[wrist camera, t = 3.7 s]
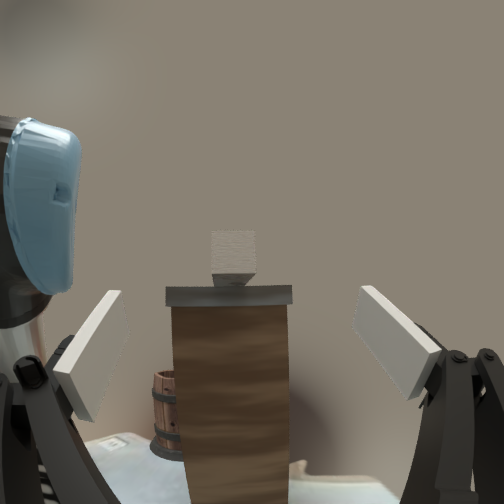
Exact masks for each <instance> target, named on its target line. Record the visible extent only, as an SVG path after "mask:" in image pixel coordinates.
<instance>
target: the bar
mask: <svg viewBox="0 0 504 504" xmlns="http://www.w3.org/2000/svg"><path fill="white" fill-rule="evenodd" d="M255 274H256V247H255V231H254V230H212V277H213V282H214V287H226V286H245V285H246V283H247V282H248V281H249V280H250V279H251V278H252V277H253V276H254V275H255Z"/></svg>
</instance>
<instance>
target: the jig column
mask: <svg viewBox="0 0 504 504" xmlns="http://www.w3.org/2000/svg"><path fill="white" fill-rule="evenodd" d="M292 303H293V302H292V285H274V286H226V287H166V306H168V307H171V317H172V347H173V366H174V380H175V393H176V404H177V414H178V423H179V431H180V439H181V446H182V453H183V460H184V466H185V472H186V478H187V484H188V489H189V494H190V499H191V504H288V482H289V357H288V325H287V305H288V304H292Z"/></svg>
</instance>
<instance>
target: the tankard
mask: <svg viewBox="0 0 504 504" xmlns="http://www.w3.org/2000/svg"><path fill="white" fill-rule="evenodd" d="M152 395H153V399H154V413H155V424H154V426H155V432H156V436H155V437H154V439H153V441H152V442H151V443H150V450H151V451H152V452H153V453H154V454H155V455H157V456H159V457H161V458H164V459H167V460H171V461H180V462H184V460H183V453H182V446H181V439H180V431H179V423H178V414H177V404H176V393H175V380H174V370H164V371H160V372H157V373H155V374H154V384H153V388H152Z"/></svg>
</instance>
